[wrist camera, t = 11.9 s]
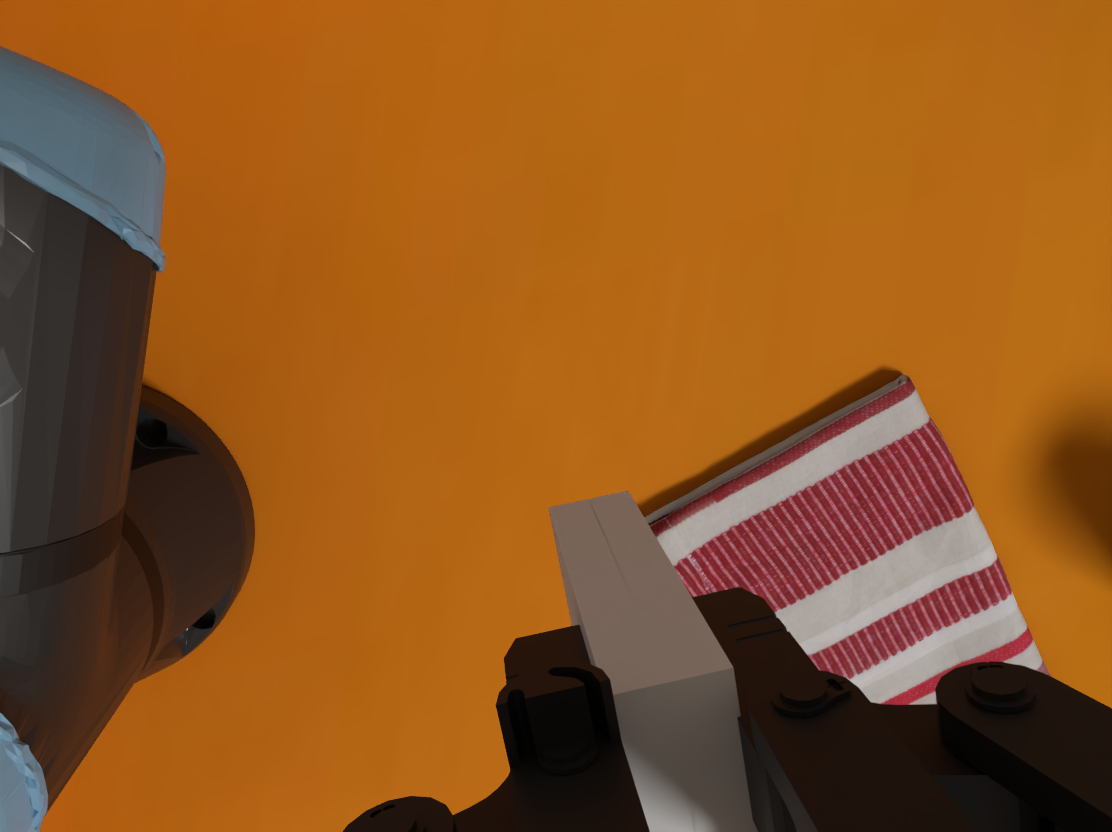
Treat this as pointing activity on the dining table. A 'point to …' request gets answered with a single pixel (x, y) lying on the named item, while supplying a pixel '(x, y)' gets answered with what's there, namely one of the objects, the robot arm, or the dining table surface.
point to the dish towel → (858, 549)
